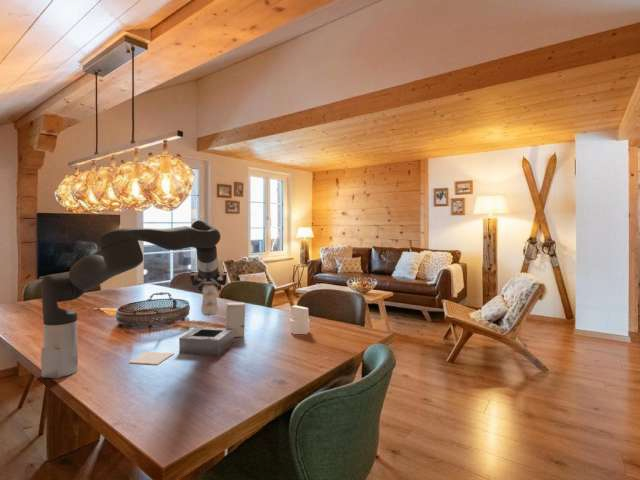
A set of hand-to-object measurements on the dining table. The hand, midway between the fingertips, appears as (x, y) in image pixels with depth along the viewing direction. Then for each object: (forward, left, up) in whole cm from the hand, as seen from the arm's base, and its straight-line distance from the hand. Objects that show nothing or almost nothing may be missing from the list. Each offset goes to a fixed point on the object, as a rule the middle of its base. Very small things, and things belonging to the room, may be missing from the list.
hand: (210, 289), depth 150 cm
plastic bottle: (-2, 0, -11) cm, 11 cm away
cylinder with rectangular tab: (+27, -33, -24) cm, 48 cm away
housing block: (-1, 0, -24) cm, 24 cm away
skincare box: (+17, -5, -24) cm, 29 cm away
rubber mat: (-16, +15, -24) cm, 33 cm away
